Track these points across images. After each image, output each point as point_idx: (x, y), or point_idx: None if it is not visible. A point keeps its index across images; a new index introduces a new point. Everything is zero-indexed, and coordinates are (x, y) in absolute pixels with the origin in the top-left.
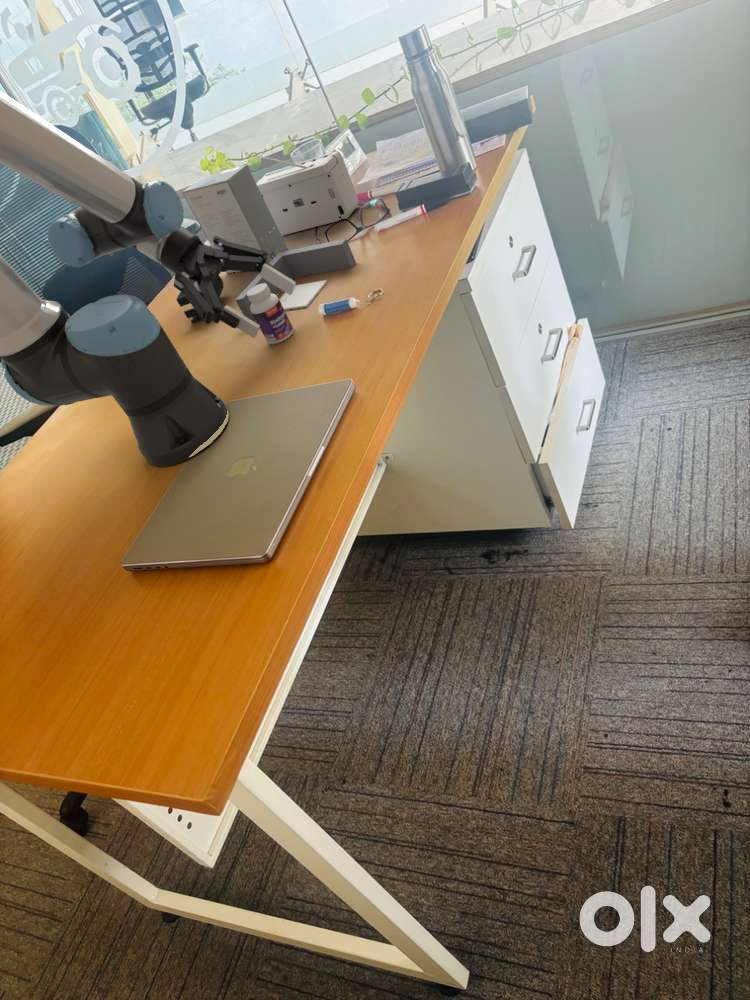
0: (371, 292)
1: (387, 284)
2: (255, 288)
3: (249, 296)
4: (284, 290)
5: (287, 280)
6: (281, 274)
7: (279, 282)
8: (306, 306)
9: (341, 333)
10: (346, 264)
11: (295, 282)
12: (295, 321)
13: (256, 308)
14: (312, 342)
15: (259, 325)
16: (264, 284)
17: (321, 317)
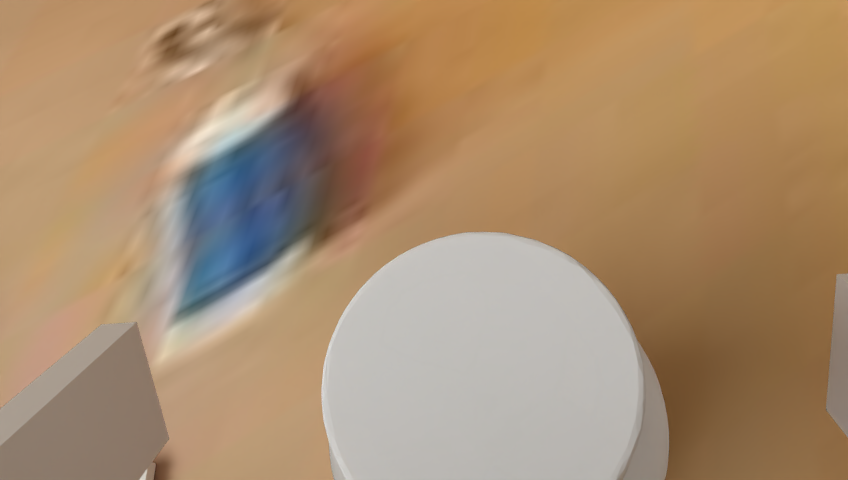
0: (163, 73)
1: (121, 27)
2: (449, 413)
3: (644, 408)
4: (134, 473)
5: (97, 359)
6: (18, 405)
7: (77, 475)
8: (152, 464)
9: (524, 32)
10: None
11: (105, 325)
12: (324, 462)
13: (650, 401)
14: (599, 159)
15: (841, 276)
16: (368, 311)
17: (328, 255)
